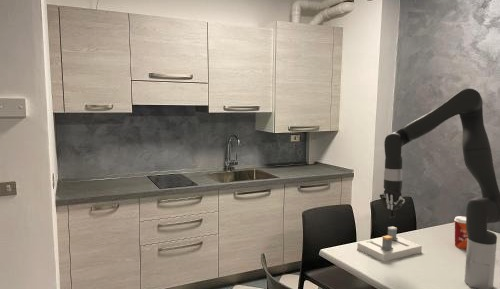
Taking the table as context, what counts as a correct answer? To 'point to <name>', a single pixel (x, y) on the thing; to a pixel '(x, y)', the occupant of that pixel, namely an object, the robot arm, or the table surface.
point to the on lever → (392, 232)
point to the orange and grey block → (387, 243)
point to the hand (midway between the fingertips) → (391, 217)
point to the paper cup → (460, 232)
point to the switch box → (399, 250)
